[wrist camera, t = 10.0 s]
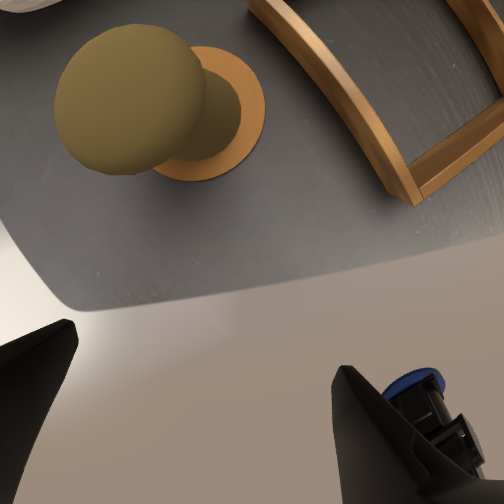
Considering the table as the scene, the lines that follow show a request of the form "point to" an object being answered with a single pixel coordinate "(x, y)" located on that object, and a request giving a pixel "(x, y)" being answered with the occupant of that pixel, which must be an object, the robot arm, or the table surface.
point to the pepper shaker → (142, 102)
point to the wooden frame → (366, 120)
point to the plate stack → (25, 5)
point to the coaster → (249, 126)
